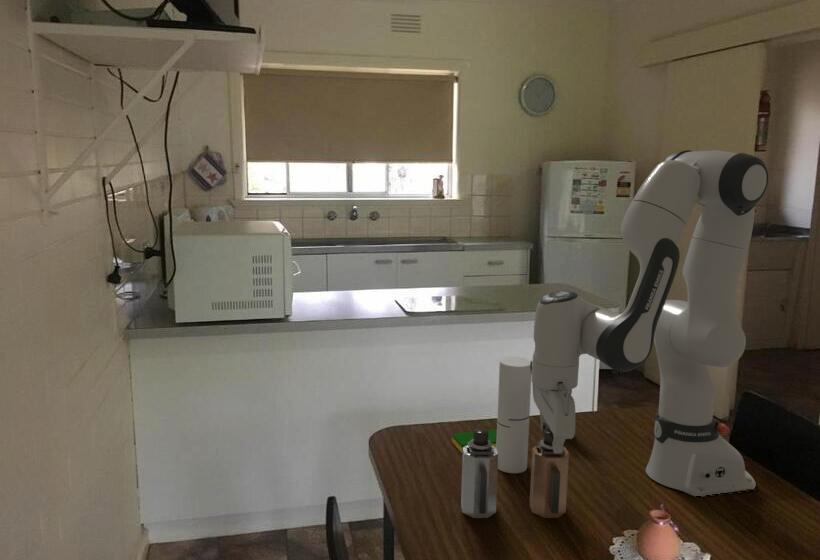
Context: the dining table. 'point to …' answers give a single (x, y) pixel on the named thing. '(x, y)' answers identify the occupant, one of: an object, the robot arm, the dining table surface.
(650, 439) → the dining table surface
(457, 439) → the dish sponge
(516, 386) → the cylindrical container
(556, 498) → the copper press carafe
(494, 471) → the steel press carafe
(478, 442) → the steel press plunger
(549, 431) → the copper press plunger
